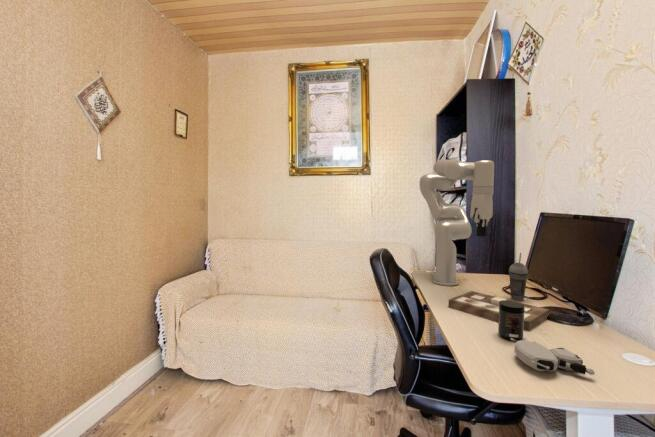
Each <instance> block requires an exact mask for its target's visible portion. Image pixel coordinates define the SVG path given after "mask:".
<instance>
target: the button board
mask: <svg viewBox="0 0 655 437" xmlns="http://www.w3.org/2000/svg"><path fill="white" fill-rule="evenodd" d="M474 295H477V296H481V297H485V299H484V300H482V301H480V300H476V299H472V298H470V297H471V296H474ZM494 297H496V296H494V295H489V294H486V293H481V292H478V291H474V290H473V291H472V290H470V291H468V292H465V293H463V294H460V295H457V296H455V297H452V298H449V299H448V308H450V309H453V310H456V311H461V312H464V313H467V314H470V315H474V316H477V317H481V318H484V319H488V320H491V321H493V322H496V323H499V305H495V304H492V303H491V299H492V298H494ZM497 297H498V296H497ZM498 298H500V297H498ZM501 298H502V297H501ZM502 299H504V298H502ZM508 300H509V301H512V299H511V300H510V299H508ZM518 302H519V303H522V304H524V305H525V307H526V308H530V309H531V311H530V312H528V313H526V312H524V331H528V332H530V331H532V330H533V329H535V328H536V327H537V326H539V325H541V324H542V323H543V322H545V321H546V320H547V317H548V315H550V309H548V308H545V307H540V306H535V305H531V304H528V303H523V302H521V301H518Z"/></svg>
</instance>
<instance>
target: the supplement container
mask: <svg viewBox="0 0 655 437" xmlns="http://www.w3.org/2000/svg"><path fill="white" fill-rule="evenodd" d="M509 300H510V299H507V300H502V301H499V322H498V327H497V328H498V329H497V331H498V332H497V333H498V335H499V337H500V338H502V339H505V340H507V341H511V342H514V341H513V340H511V339H510V338H512V339H514V340H517V341H520V340H522V341H523V339H524V331H525V330H524V311H525V310H524V309H525V305H524V304H525V303H524V304H522V303H523V302H520V301H515V300H511V301H509ZM519 302H520V303H519Z"/></svg>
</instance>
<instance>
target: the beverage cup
mask: <svg viewBox="0 0 655 437" xmlns="http://www.w3.org/2000/svg"><path fill="white" fill-rule="evenodd" d="M518 258H519V259H518V262H514V263H512V264H511V265H510V266H509V269H508V271H507V272H508V277H509V288H510V289H509V292H510V299H511V301H516V302H524V300H525V294H526V286H527V280H528V277H529V270H528V267H527V266H526V265H525V264H523V263H521V259H522V253H521V252H520V253H519V257H518Z"/></svg>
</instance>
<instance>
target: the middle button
mask: <svg viewBox="0 0 655 437" xmlns="http://www.w3.org/2000/svg"><path fill="white" fill-rule="evenodd" d="M502 300H508V299H507V298H503V299H502V297H499V298H498V296H495V297H494V298H492V299H491V303H492V304H495V305H499V301H502Z"/></svg>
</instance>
